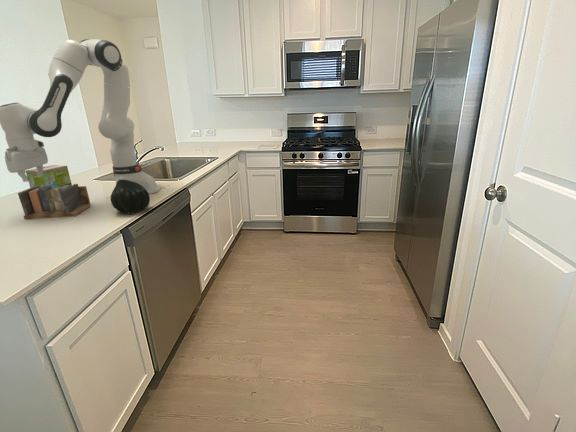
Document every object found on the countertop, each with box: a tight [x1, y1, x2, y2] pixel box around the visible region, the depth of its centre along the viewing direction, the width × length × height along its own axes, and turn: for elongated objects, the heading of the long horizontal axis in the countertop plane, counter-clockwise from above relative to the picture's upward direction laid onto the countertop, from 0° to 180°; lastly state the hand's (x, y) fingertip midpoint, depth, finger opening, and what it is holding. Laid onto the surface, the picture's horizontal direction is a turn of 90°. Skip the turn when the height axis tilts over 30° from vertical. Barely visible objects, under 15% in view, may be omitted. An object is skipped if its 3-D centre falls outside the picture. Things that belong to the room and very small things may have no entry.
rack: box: [17, 183, 92, 220], centre depth 136 cm, size 20×14×12 cm
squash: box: [110, 179, 151, 215], centre depth 136 cm, size 14×15×15 cm
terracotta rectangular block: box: [28, 188, 45, 212], centre depth 135 cm, size 3×6×9 cm, turn 8°
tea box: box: [25, 164, 73, 188], centre depth 161 cm, size 15×10×15 cm, turn 168°
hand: (34, 178), depth 132 cm, fingers open, 8 cm apart
